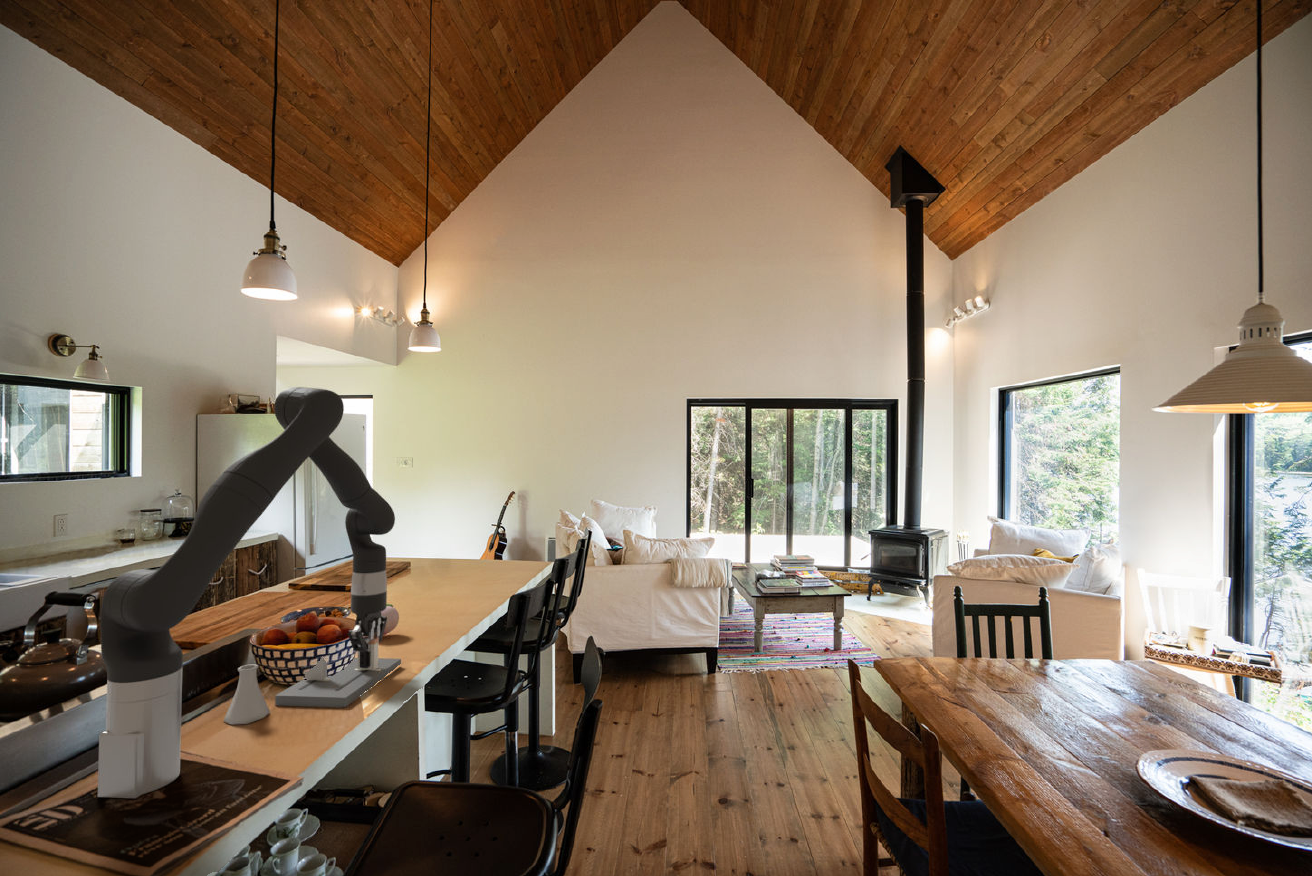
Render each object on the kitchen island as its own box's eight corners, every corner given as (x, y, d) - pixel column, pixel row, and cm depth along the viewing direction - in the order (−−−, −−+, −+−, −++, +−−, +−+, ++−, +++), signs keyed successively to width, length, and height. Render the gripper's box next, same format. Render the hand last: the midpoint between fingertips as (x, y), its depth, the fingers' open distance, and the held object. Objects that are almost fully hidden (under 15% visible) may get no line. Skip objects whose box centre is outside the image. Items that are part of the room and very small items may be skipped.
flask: (247, 727, 117) (248, 674, 117) (215, 724, 118) (216, 671, 119) (277, 712, 124) (278, 662, 124) (247, 709, 125) (248, 659, 126)
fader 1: (322, 680, 135) (322, 648, 135) (304, 679, 135) (305, 648, 135) (327, 676, 137) (328, 646, 137) (309, 676, 137) (310, 645, 137)
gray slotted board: (345, 707, 126) (345, 697, 126) (275, 705, 127) (275, 695, 127) (400, 667, 150) (401, 658, 150) (341, 665, 151) (341, 656, 151)
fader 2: (374, 669, 141) (374, 640, 142) (356, 669, 142) (357, 639, 142) (378, 667, 143) (378, 637, 143) (361, 666, 143) (361, 637, 144)
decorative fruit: (387, 643, 169) (388, 606, 169) (359, 642, 170) (360, 605, 170) (405, 633, 178) (405, 598, 179) (378, 632, 179) (379, 597, 179)
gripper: (369, 597, 136) (367, 676, 135) (399, 584, 150) (397, 656, 149) (336, 596, 136) (334, 676, 136) (369, 583, 150) (367, 655, 150)
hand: (367, 665), depth 142 cm, fingers closed on fader 2, 2 cm apart
